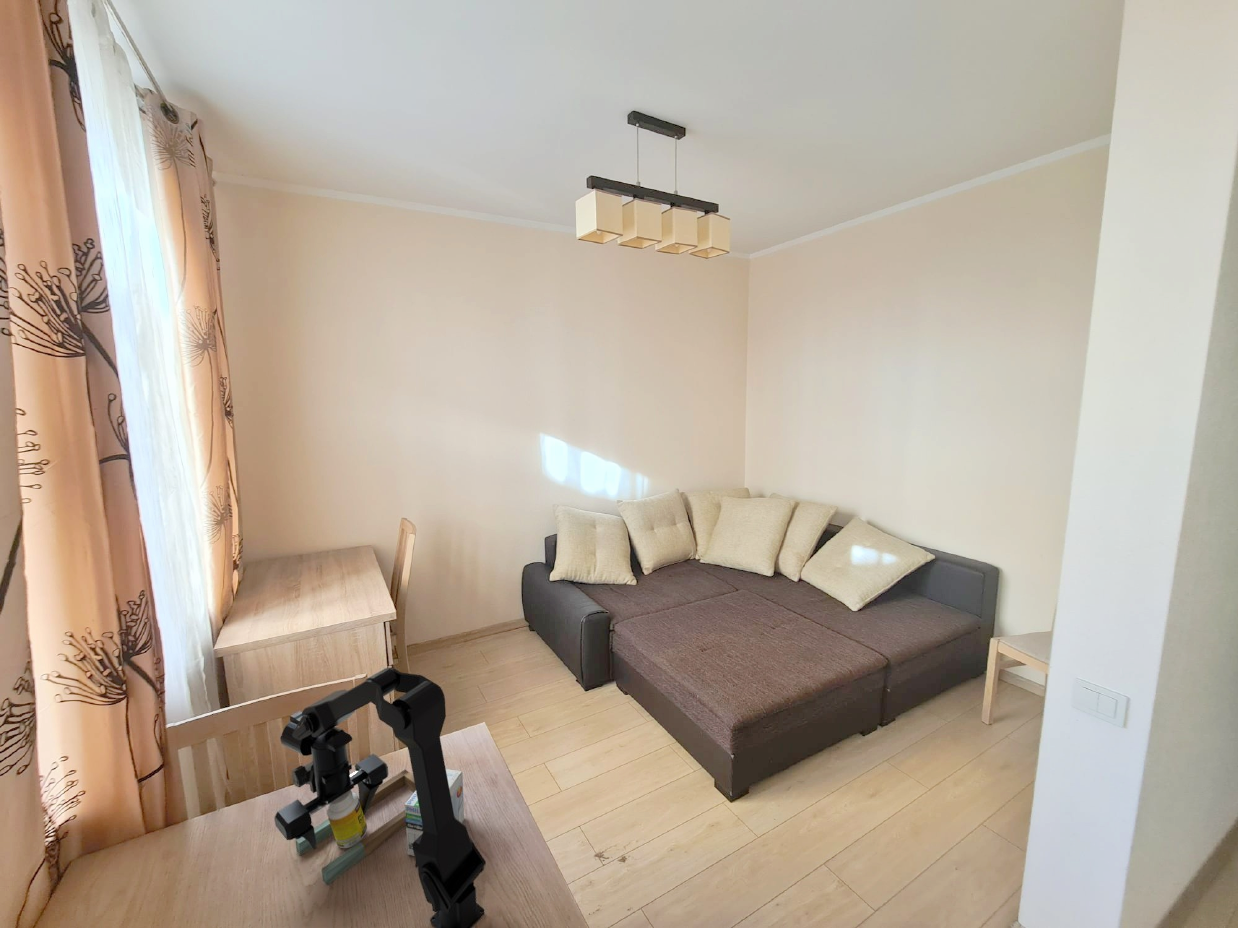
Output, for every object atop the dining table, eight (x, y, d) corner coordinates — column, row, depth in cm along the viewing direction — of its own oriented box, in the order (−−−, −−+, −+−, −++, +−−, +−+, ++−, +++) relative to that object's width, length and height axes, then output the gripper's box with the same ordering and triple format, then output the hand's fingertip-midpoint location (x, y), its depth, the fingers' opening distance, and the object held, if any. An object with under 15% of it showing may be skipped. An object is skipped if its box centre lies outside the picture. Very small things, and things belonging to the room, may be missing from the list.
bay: (437, 803, 111) (437, 792, 111) (326, 885, 93) (325, 872, 92) (405, 779, 118) (405, 769, 118) (296, 851, 99) (295, 839, 99)
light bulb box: (438, 862, 97) (435, 810, 96) (406, 855, 98) (402, 805, 97) (465, 816, 108) (463, 769, 106) (436, 811, 109) (434, 765, 107)
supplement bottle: (368, 839, 101) (355, 798, 98) (337, 855, 99) (323, 813, 96) (367, 817, 106) (354, 777, 103) (337, 832, 103) (323, 792, 101)
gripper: (358, 717, 110) (365, 781, 112) (257, 771, 95) (268, 843, 98) (386, 739, 103) (393, 806, 106) (282, 800, 88) (293, 877, 91)
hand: (339, 830), depth 100 cm, fingers open, 9 cm apart
